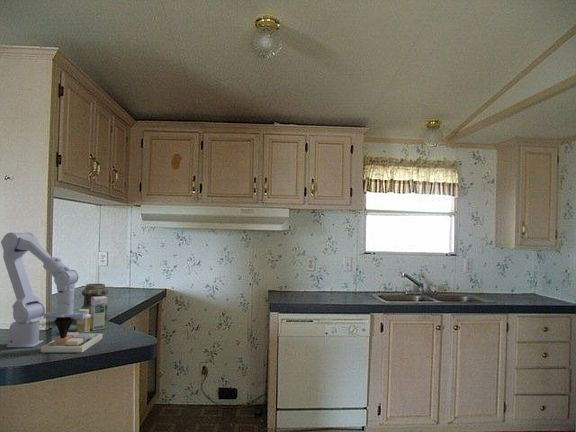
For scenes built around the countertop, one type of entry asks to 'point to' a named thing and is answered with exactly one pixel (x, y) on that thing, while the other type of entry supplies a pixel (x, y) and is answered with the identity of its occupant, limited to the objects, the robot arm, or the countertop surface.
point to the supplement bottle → (83, 322)
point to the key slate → (82, 336)
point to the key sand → (74, 341)
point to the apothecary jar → (92, 294)
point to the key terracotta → (62, 339)
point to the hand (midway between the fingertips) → (63, 337)
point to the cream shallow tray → (70, 346)
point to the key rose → (72, 334)
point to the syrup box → (98, 312)
